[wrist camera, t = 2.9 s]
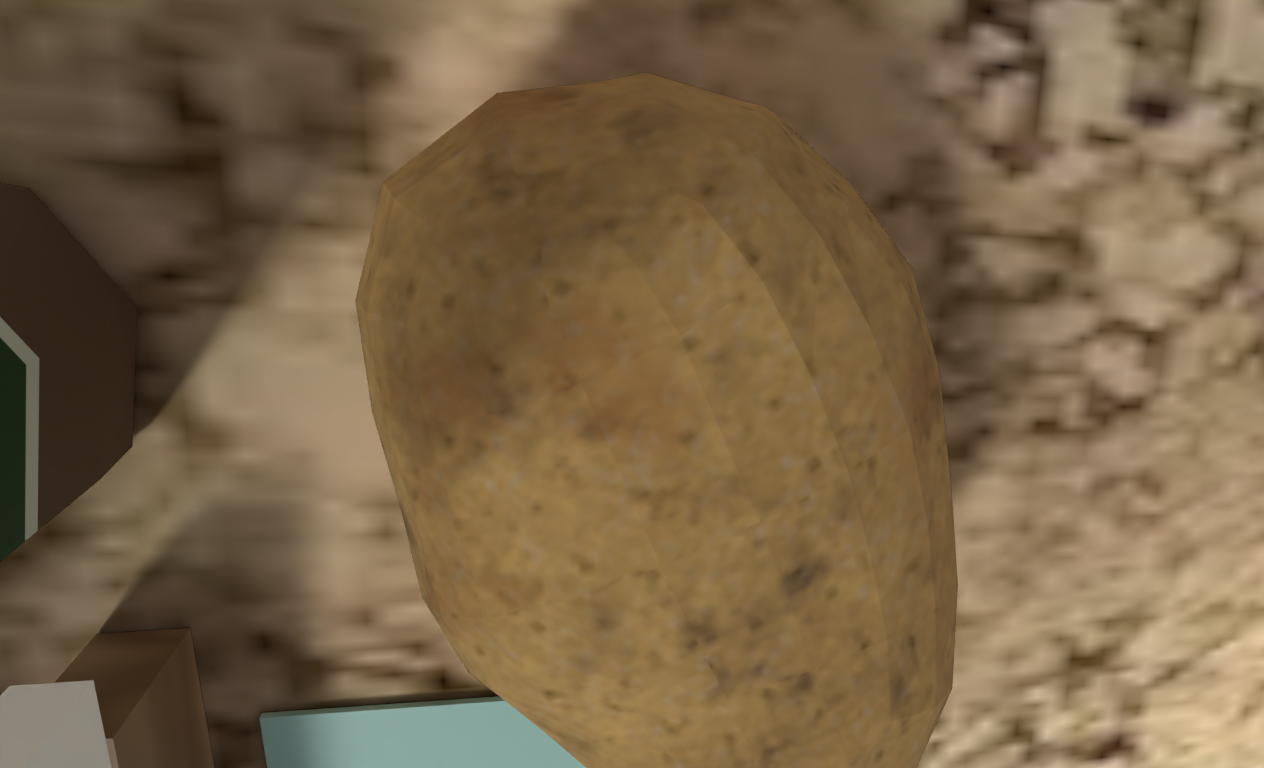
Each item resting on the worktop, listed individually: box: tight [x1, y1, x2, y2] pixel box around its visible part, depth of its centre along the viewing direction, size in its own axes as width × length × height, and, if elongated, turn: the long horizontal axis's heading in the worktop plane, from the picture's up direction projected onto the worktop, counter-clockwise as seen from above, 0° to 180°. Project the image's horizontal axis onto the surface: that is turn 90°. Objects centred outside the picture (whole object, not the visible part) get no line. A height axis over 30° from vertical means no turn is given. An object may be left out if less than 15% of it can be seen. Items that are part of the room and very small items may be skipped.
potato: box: [356, 73, 958, 768], centre depth 18 cm, size 10×14×8 cm
